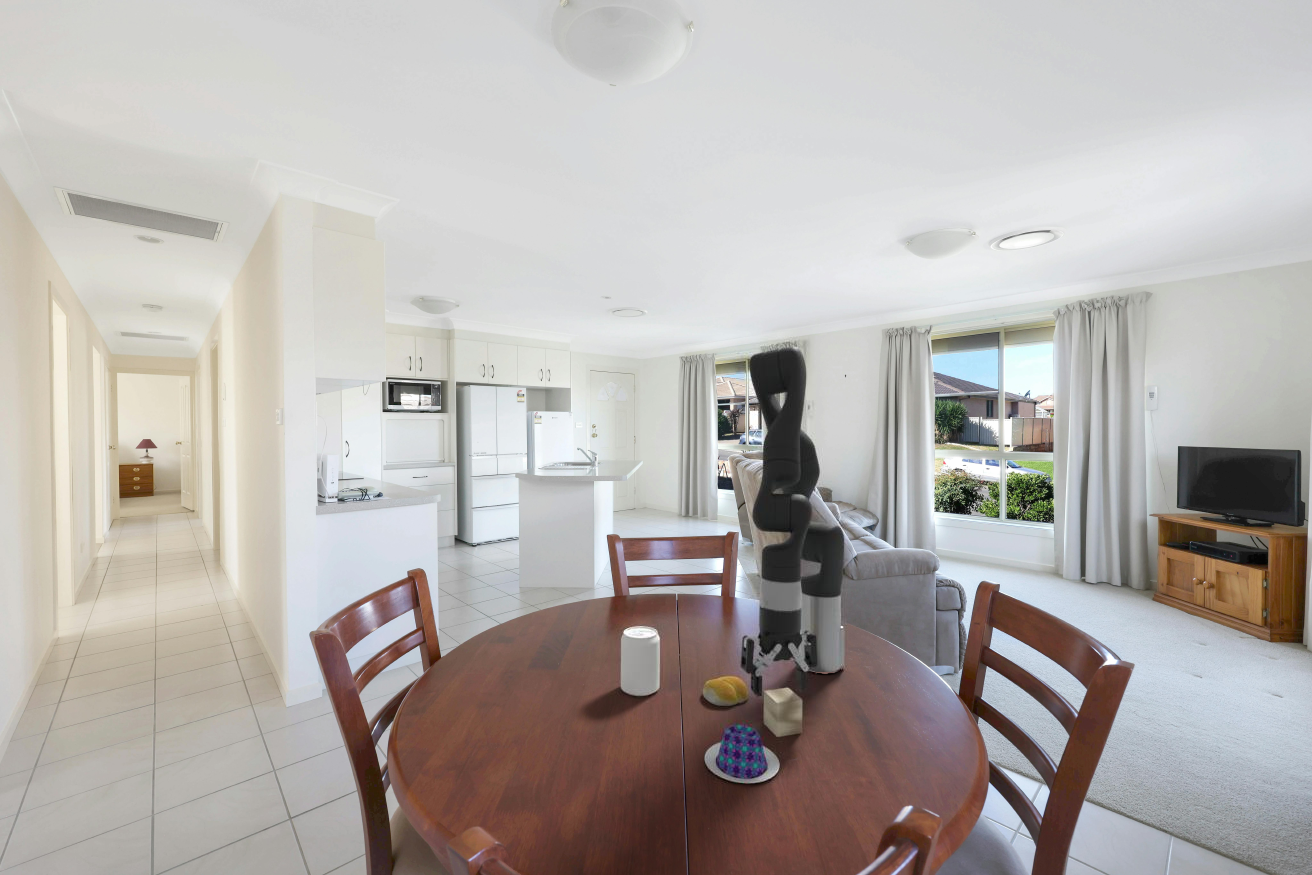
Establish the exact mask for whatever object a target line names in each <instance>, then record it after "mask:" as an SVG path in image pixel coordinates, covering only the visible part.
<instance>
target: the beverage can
mask: <svg viewBox="0 0 1312 875" xmlns="http://www.w3.org/2000/svg"><path fill="white" fill-rule="evenodd" d="M660 641H661V638H660V636H659V633H658V630H657V629H655V628H654V627H650V626H644V625H643V626H642V625H641V626H638V625H637V626H630V627H628V628H626V629H624V630H623V633H622V636H621V638H620V689H621V690H622V691H623V692H624V693H626V694H628V695H630V696H636V697H645V696H649V695H651V694H654V693H656V692H657V691H658V690H659V689H660V667H661V664H660V663H661V662H660V661H661V660H660V655H661V653H660V651H661V650H660V647H661V642H660Z"/></svg>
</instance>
